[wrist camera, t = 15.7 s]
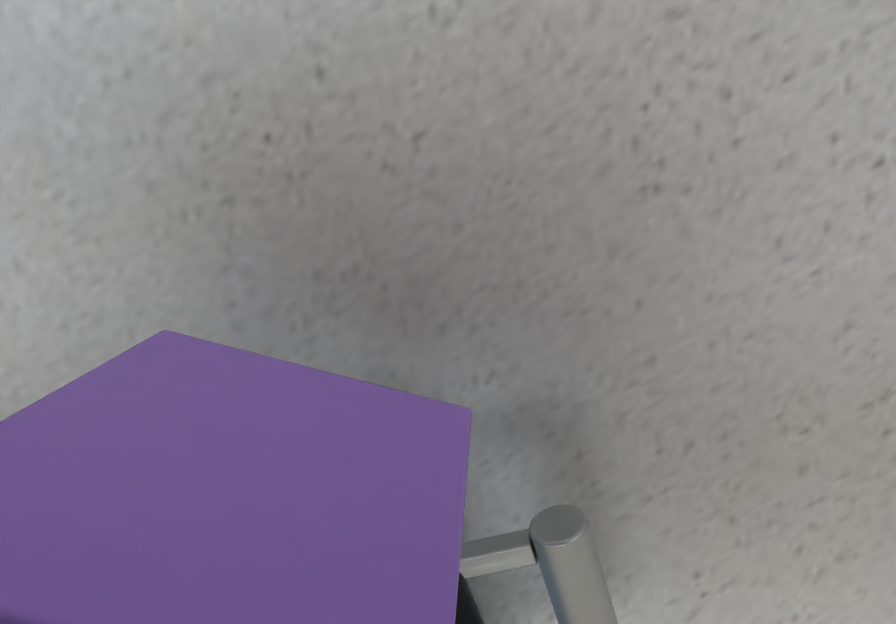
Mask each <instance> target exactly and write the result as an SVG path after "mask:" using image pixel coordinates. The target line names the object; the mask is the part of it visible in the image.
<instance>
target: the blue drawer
mask: <svg viewBox="0 0 896 624" xmlns="http://www.w3.org/2000/svg"><path fill="white" fill-rule="evenodd" d="M536 557H537V558H536ZM537 560H538V563H539V566H540V569H541V572H542V575H543V578H544V581H545V584H546V587H547V590H548V593H549V596H550V599H551V602H552V605H553V608H554V611H555V614H556V617H557V620H558V623H559V624H618V622H617V619H616V615H615V612H614V608H613V605H612V602H611V598H610V595H609V592H608V588H607V585H606V581H605V578H604V575H603V571H602V568H601V564H600V561H599V558H598V554H597V551H596V547H595V544H594V541H593V537H592V534H591V531H590V527H589V524H588V520H587V517H586V516H585V514H584V513H583V512H582V511H581V510H580V509H578V508H576V507H573V506H569V505H557V506H552V507H549V508H547V509H544V510H543V511H541V512H539V513H538V514H537V515H536V516H535V517H534V518H533V519H532V521H531V523H530V526H529V529H525V530H521V531H516V532H511V533H507V534H502V535H497V536H493V537H488V538H483V539H479V540H474V541H469V542H465V543H461V556H460V568H459V572H460V573H461V574H462V575H463V576H464V578H465V579H468V578H473V577H478V576H483V575H488V574H493V573H497V572H502V571H507V570H512V569H517V568H522V567H527V566H532V565H536V564H537Z"/></svg>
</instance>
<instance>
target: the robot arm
mask: <svg viewBox="0 0 896 624" xmlns="http://www.w3.org/2000/svg"><path fill="white" fill-rule="evenodd" d="M455 624H484V623H483V621H482V619H481V616H480V614H479V612H478V609H477V607H476V604H475V602H474V600H473V597H472V595H471V593H470V590H469V588H468V585H467V583H466V581H465V578H464V576H463V575H462V574H461V573H460V572H459V581H458V593H457V606H456V618H455Z"/></svg>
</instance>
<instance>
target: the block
mask: <svg viewBox="0 0 896 624" xmlns="http://www.w3.org/2000/svg"><path fill="white" fill-rule="evenodd" d="M471 418H472V412H471V410H470V409H468V408H464V407H460V406H457V405H453V404H449V403H445V402H441V401H437V400H433V399H430V398H426V397H422V396H418V395H414V394H410V393H406V392H403V391H399V390H395V389H391V388H387V387H383V386H379V385H375V384H372V383H368V382H364V381H360V380H356V379H352V378H348V377H345V376H341V375H337V374H333V373H329V372H325V371H321V370H318V369H314V368H310V367H306V366H302V365H298V364H294V363H291V362H287V361H283V360H279V359H275V358H271V357H267V356H263V355H260V354H256V353H252V352H248V351H244V350H240V349H236V348H233V347H229V346H225V345H221V344H217V343H213V342H209V341H206V340H202V339H198V338H194V337H190V336H186V335H182V334H179V333H175V332H171V331H167V330H164V331H161V332H159V333H157V334H155V335H154V336H152V337H150V338H148V339H147V340H145V341H143V342H141V343H140V344H138V345H136V346H134V347H132V348H131V349H129V350H127V351H125V352H124V353H122V354H120V355H118V356H116V357H115V358H113V359H111V360H109V361H108V362H106V363H104V364H102V365H100V366H99V367H97V368H95V369H93V370H92V371H90V372H88V373H86V374H85V375H83V376H81V377H79V378H77V379H76V380H74V381H72V382H70V383H69V384H67V385H65V386H63V387H61V388H60V389H58V390H56V391H54V392H53V393H51V394H49V395H47V396H45V397H44V398H42V399H40V400H38V401H37V402H35V403H33V404H31V405H29V406H28V407H26V408H24V409H22V410H21V411H19V412H17V413H15V414H14V415H12V416H10V417H8V418H6V419H5V420H3V421H1V422H0V624H455V618H456V606H457V593H458V581H459V568H460V556H461V543H462V531H463V518H464V506H465V493H466V481H467V468H468V456H469V443H470V431H471Z"/></svg>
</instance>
